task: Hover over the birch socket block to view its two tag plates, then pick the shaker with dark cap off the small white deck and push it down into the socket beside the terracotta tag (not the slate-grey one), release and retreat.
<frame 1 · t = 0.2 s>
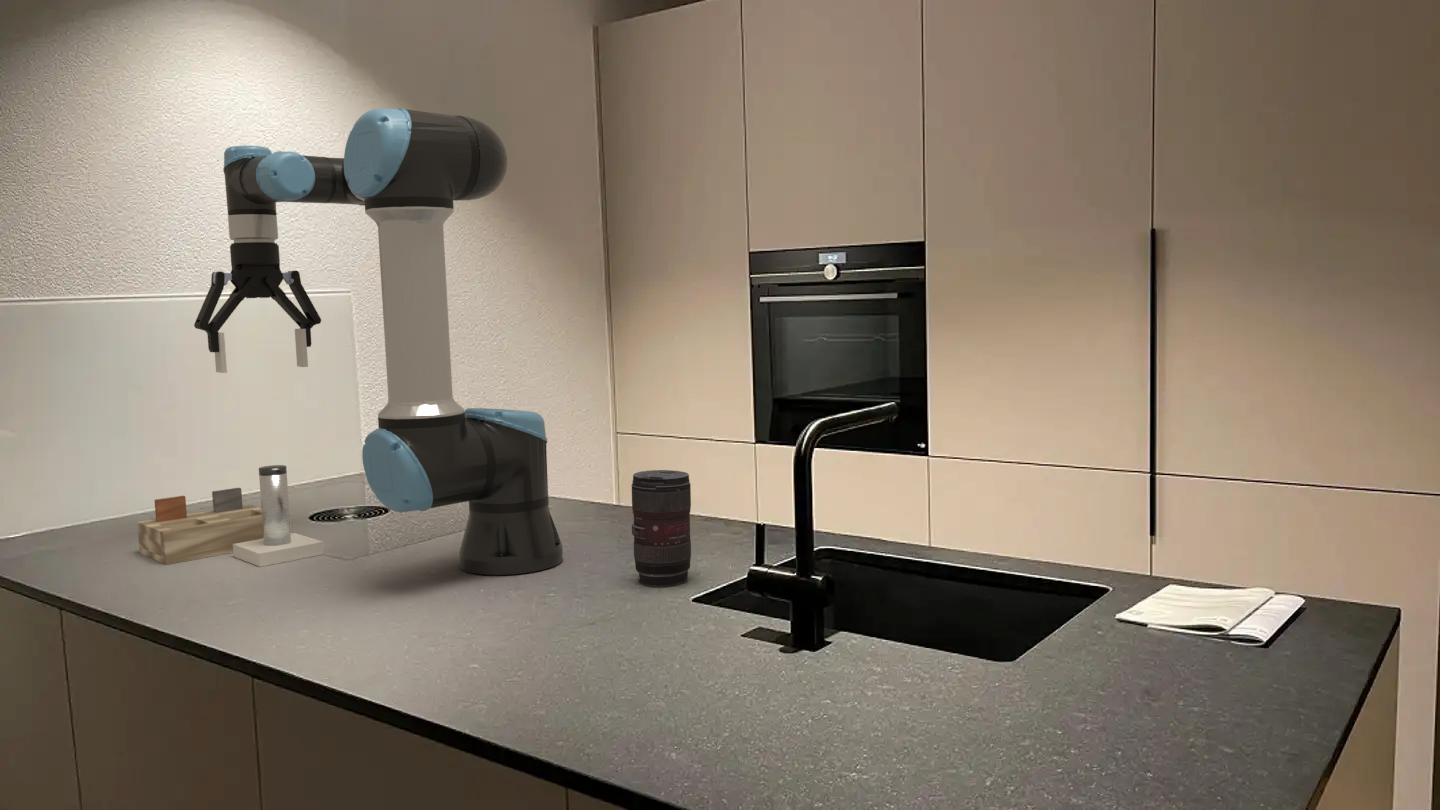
hand: (263, 369, 188), 28 cm above the countertop, fingers open, 13 cm apart
shaker with dark cap: (277, 542, 175), point 2 cm above the countertop, touching deck
socket block: (211, 548, 182), on the countertop
camera lens: (664, 581, 155), on the countertop
deck: (278, 555, 176), on the countertop
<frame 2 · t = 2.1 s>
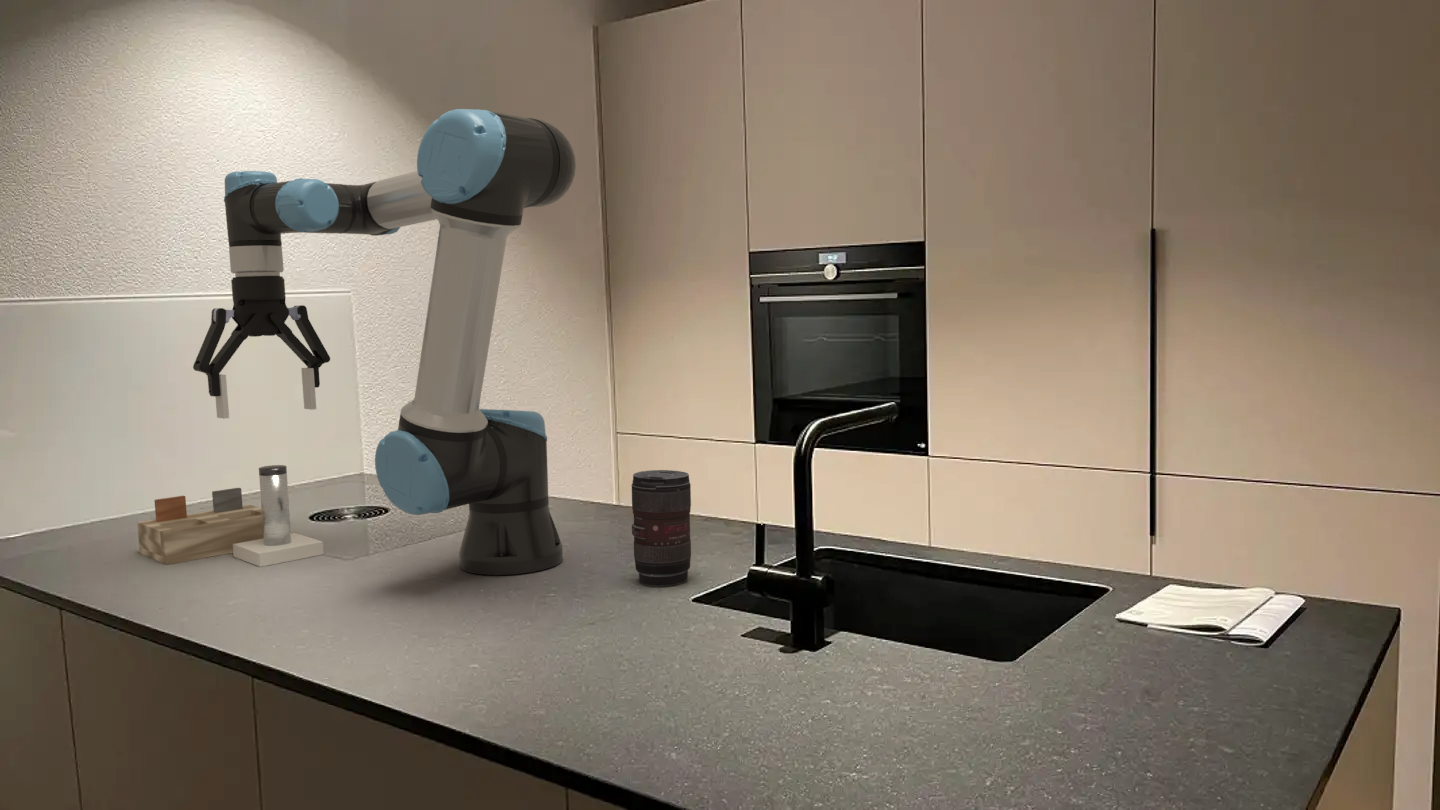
hand: (267, 413, 173), 22 cm above the countertop, fingers open, 13 cm apart
nothing on the countertop moved.
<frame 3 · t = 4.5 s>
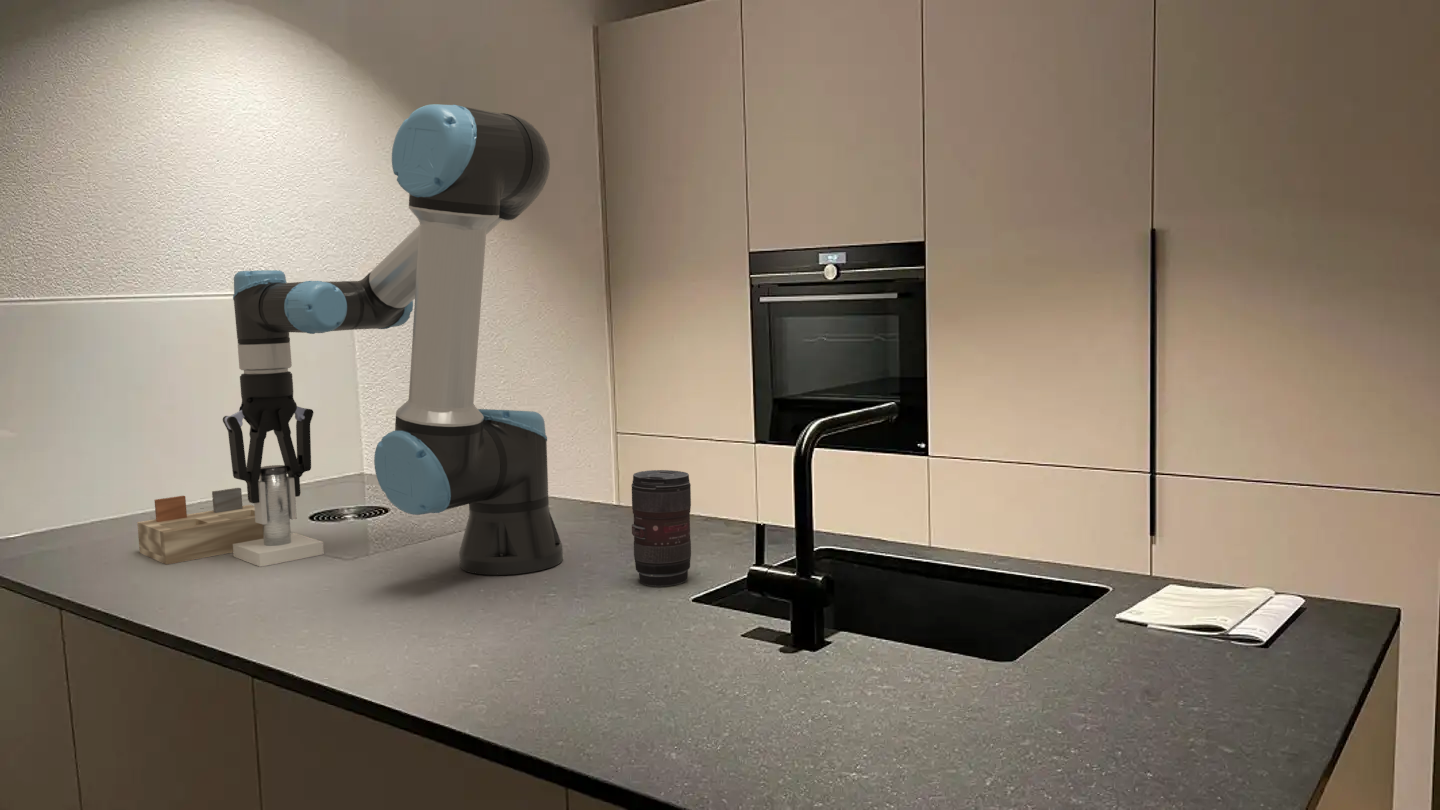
hand: (276, 520, 175), 6 cm above the countertop, fingers closed on shaker with dark cap, 4 cm apart
shaker with dark cap: (277, 542, 175), point 2 cm above the countertop, touching deck, gripper
everything else where it was.
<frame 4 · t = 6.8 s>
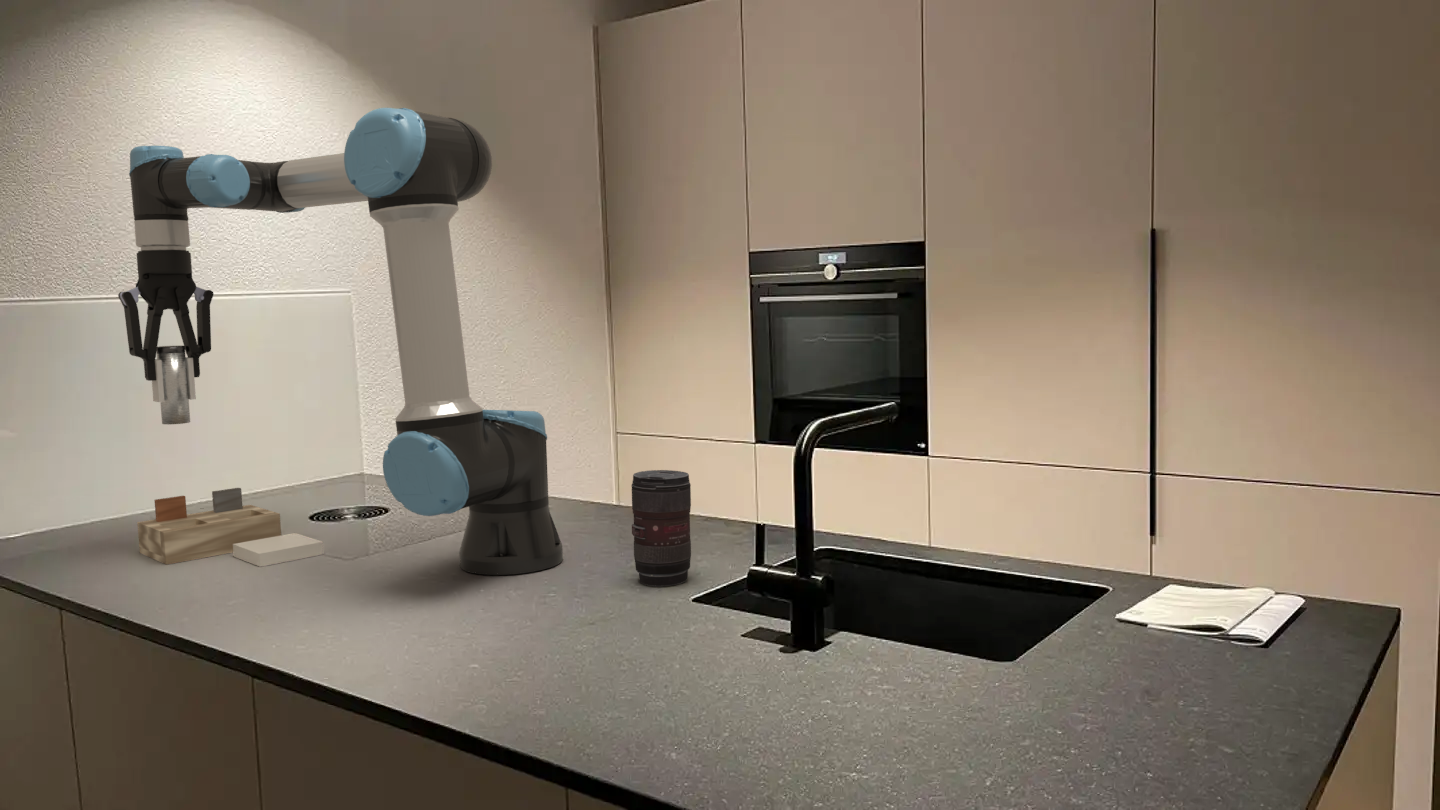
hand: (174, 399, 175), 25 cm above the countertop, fingers closed on shaker with dark cap, 4 cm apart
shaker with dark cap: (176, 422, 176), point 21 cm above the countertop, touching gripper
everything else where it was.
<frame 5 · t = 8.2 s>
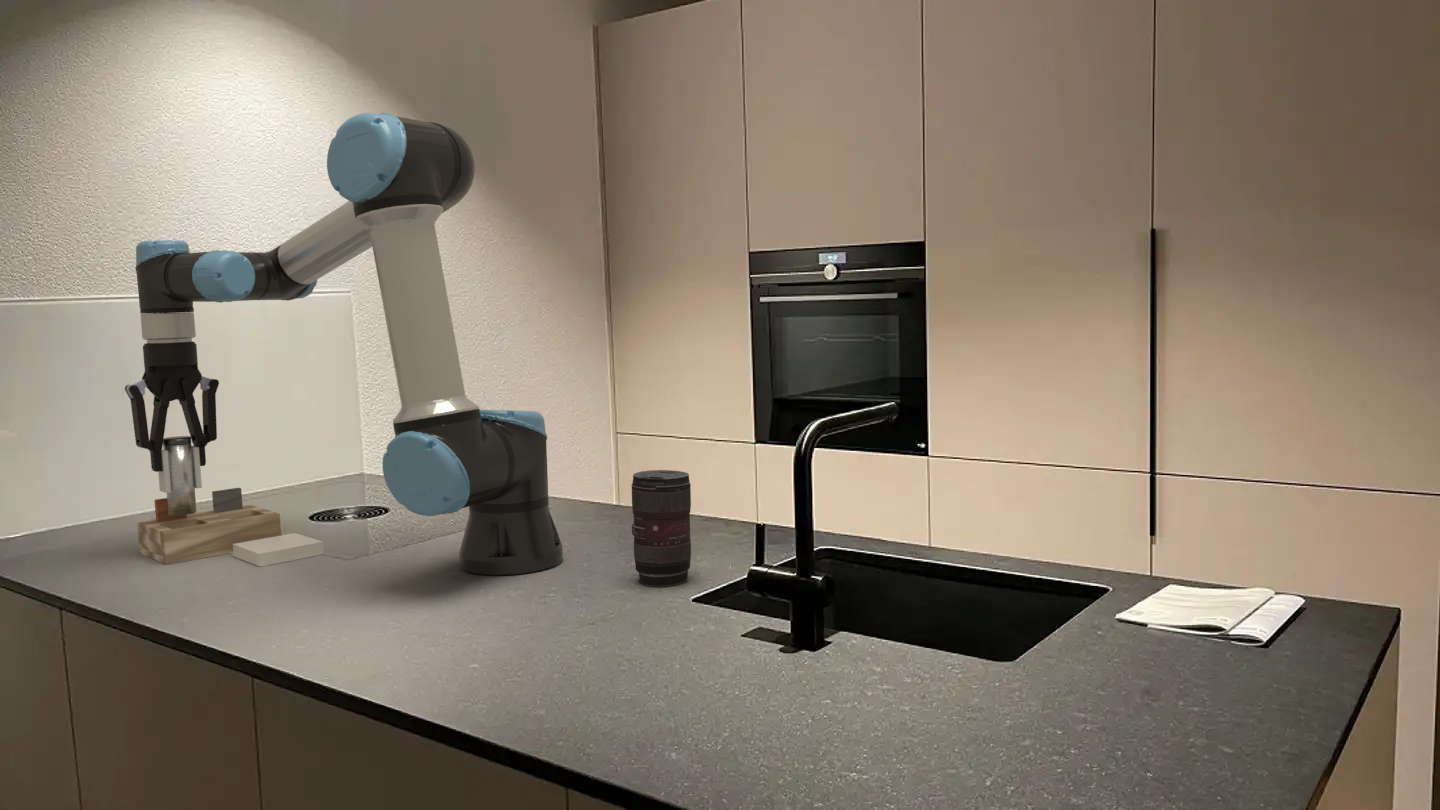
hand: (180, 489, 177), 11 cm above the countertop, fingers closed on shaker with dark cap, 4 cm apart
shaker with dark cap: (182, 513, 177), point 7 cm above the countertop, touching gripper
everything else where it was.
when the fingers open (7 cm above the countertop, at t = 9.2 s): shaker with dark cap drops 2 cm, resting on socket block.
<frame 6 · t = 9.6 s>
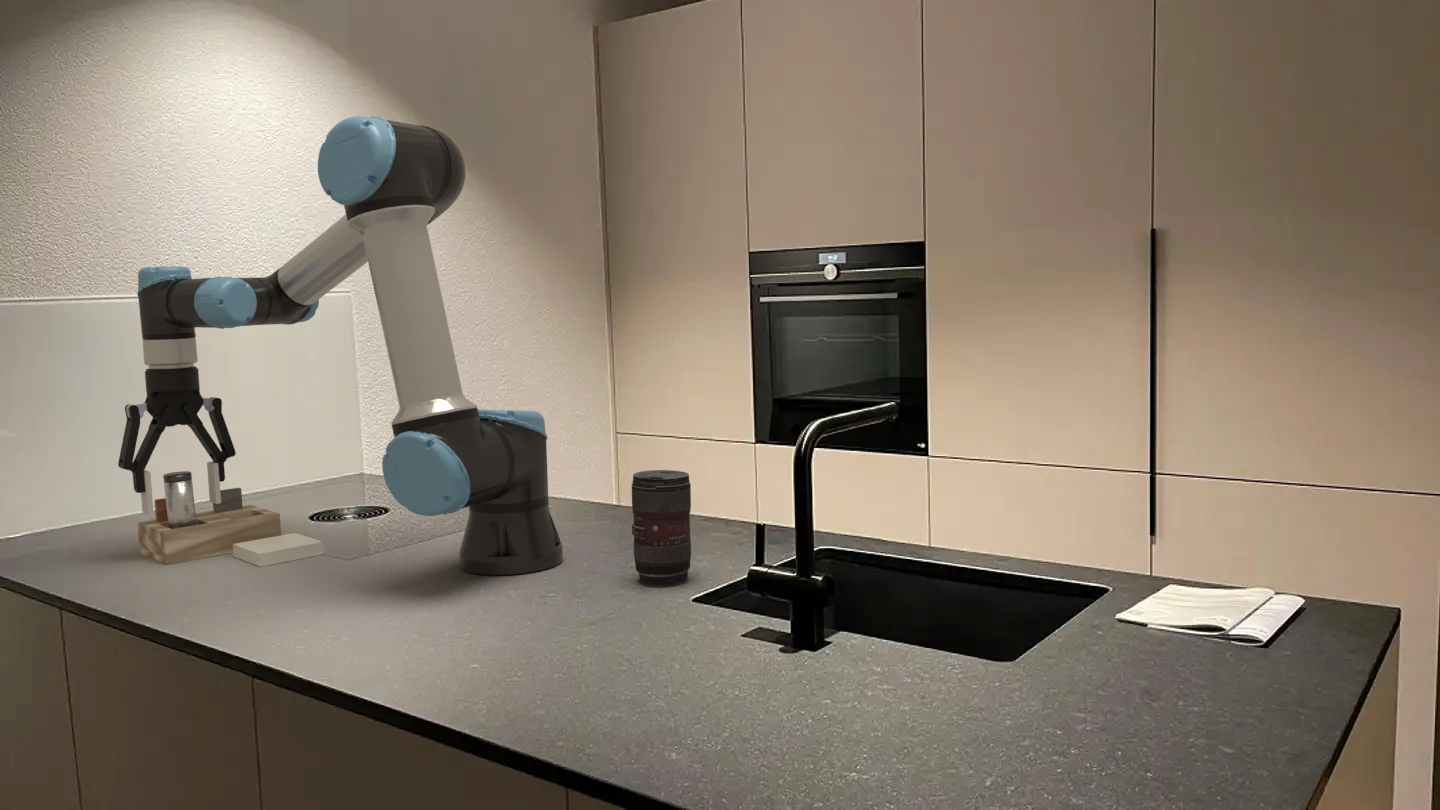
hand: (182, 507, 177), 8 cm above the countertop, fingers open, 9 cm apart
shaker with dark cap: (185, 548, 178), point 1 cm above the countertop, touching socket block
everything else where it was.
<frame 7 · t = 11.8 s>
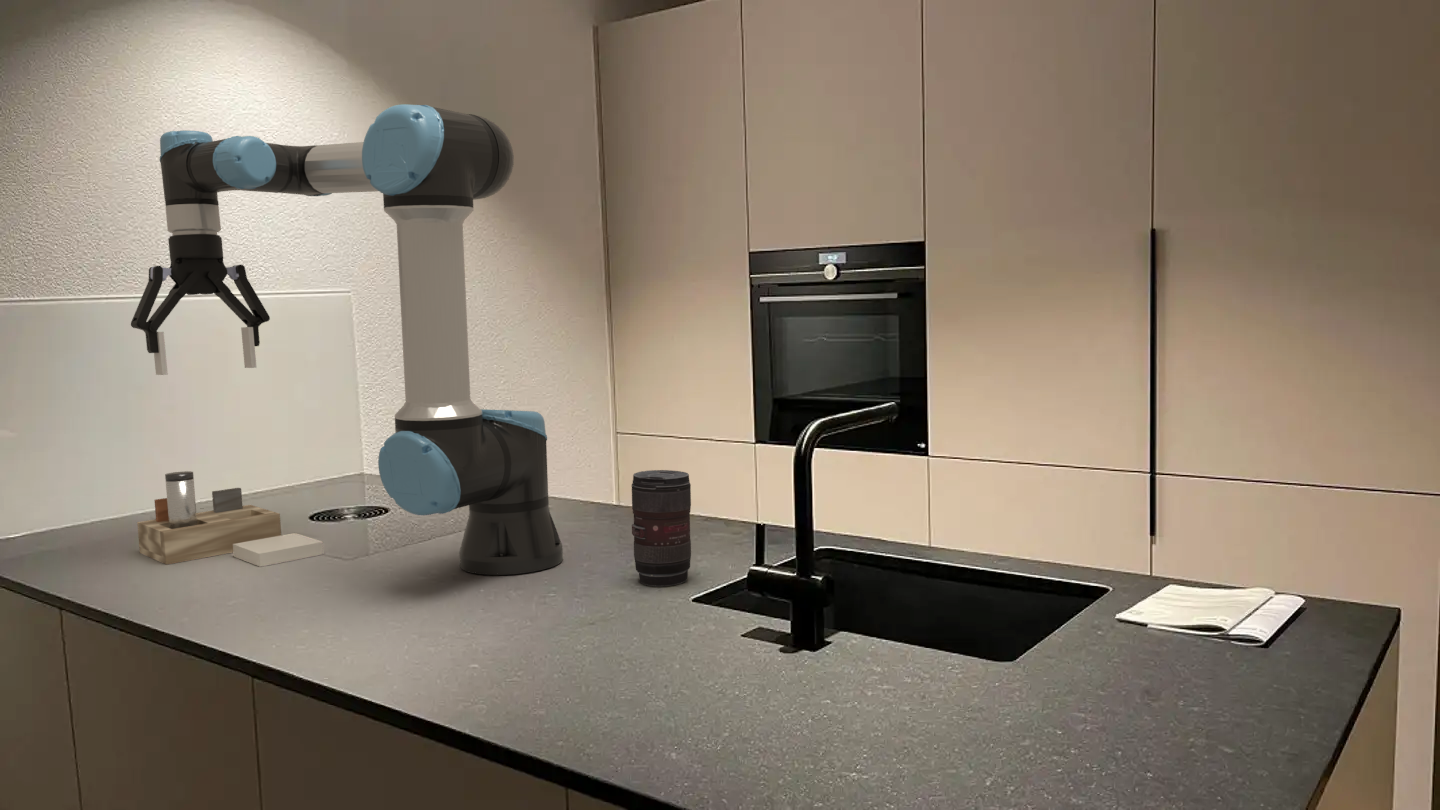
hand: (207, 371, 175), 29 cm above the countertop, fingers open, 13 cm apart
nothing on the countertop moved.
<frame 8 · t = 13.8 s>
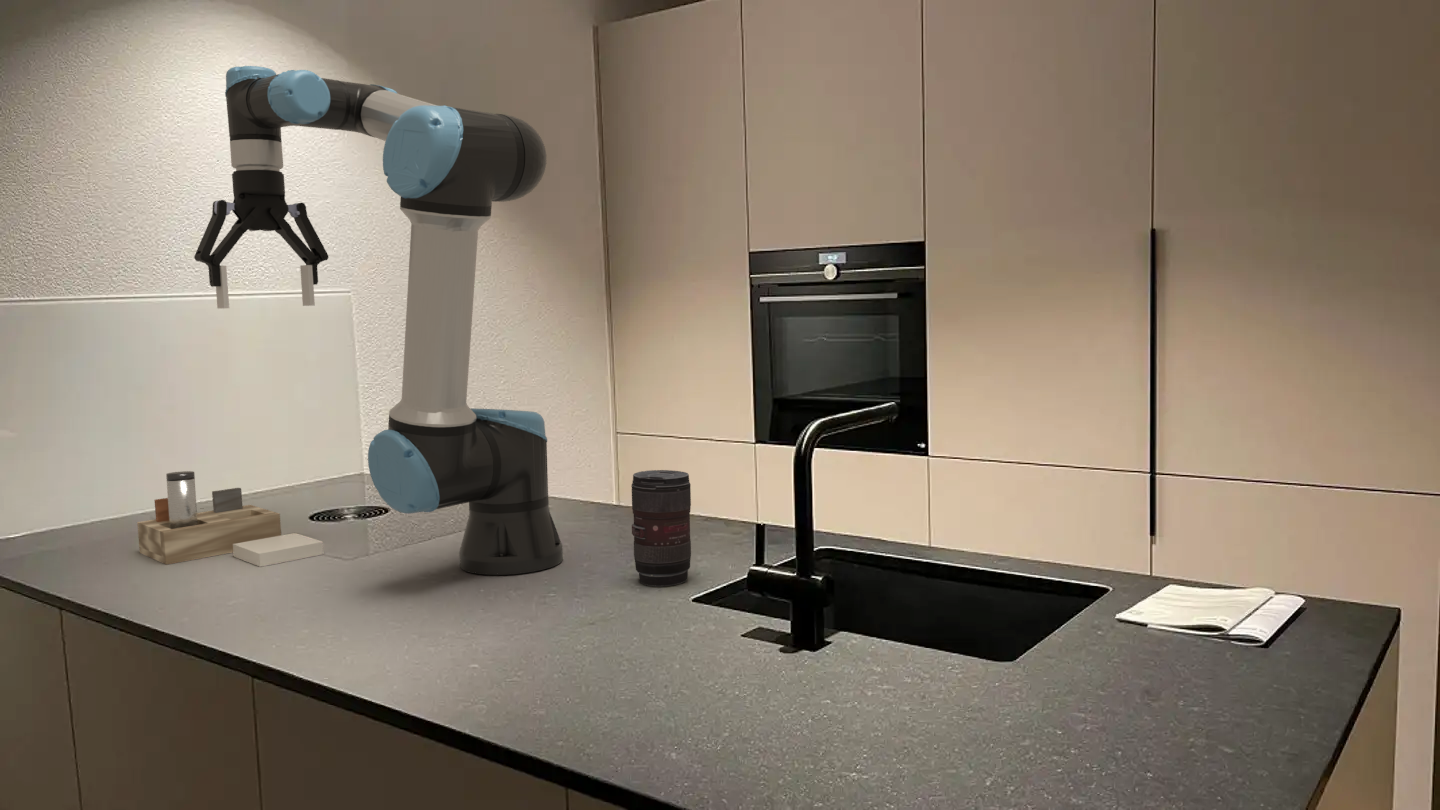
hand: (267, 307, 177), 39 cm above the countertop, fingers open, 13 cm apart
nothing on the countertop moved.
at the end: shaker with dark cap 0.1 cm from the target spot on the socket block, point 1.1 cm above the socket block's base; shaker with dark cap tilted 2°; the gripper is holding nothing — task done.
